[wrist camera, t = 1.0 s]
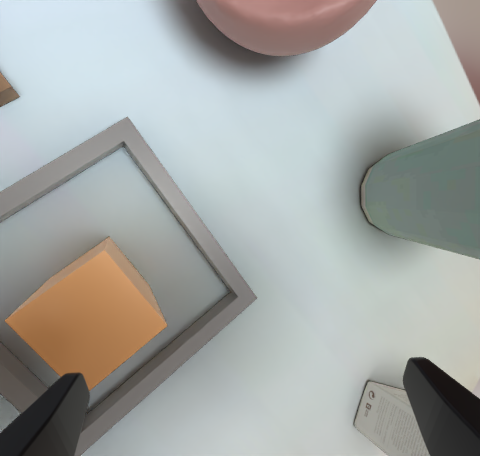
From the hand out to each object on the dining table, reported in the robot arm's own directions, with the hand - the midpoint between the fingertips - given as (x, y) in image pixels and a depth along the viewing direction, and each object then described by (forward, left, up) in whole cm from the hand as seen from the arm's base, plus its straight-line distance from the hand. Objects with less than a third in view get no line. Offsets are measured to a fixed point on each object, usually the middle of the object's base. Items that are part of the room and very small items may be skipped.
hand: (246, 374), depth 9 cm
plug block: (-3, +3, -13) cm, 14 cm away
